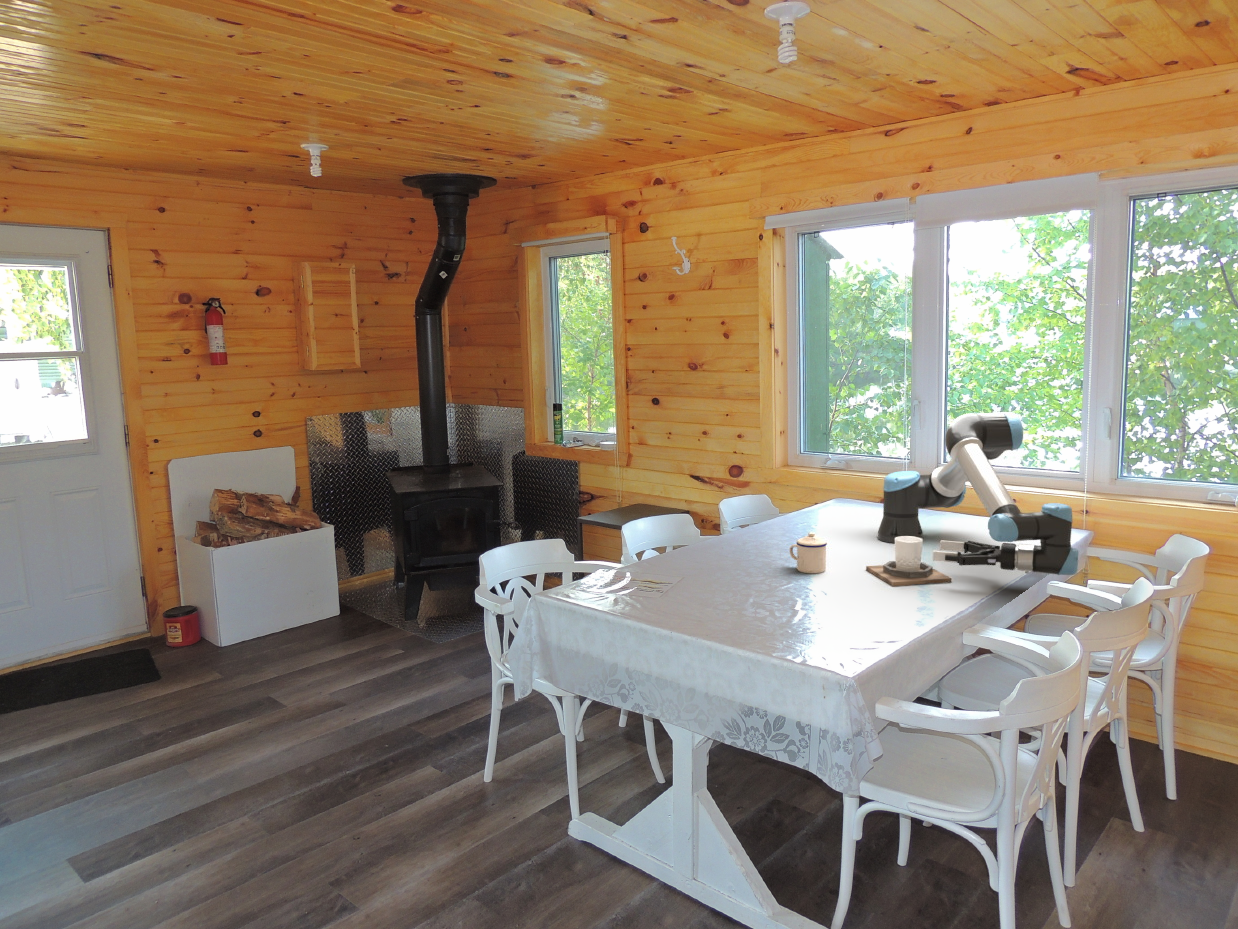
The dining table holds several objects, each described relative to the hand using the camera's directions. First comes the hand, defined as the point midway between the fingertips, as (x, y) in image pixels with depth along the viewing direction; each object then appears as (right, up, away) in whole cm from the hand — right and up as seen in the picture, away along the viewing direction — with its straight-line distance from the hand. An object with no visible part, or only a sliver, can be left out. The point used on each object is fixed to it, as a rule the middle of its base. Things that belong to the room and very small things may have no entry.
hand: (936, 550), depth 260 cm
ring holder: (-7, -8, +5) cm, 12 cm away
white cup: (-7, -7, +5) cm, 11 cm away
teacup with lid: (-35, -8, +15) cm, 39 cm away
